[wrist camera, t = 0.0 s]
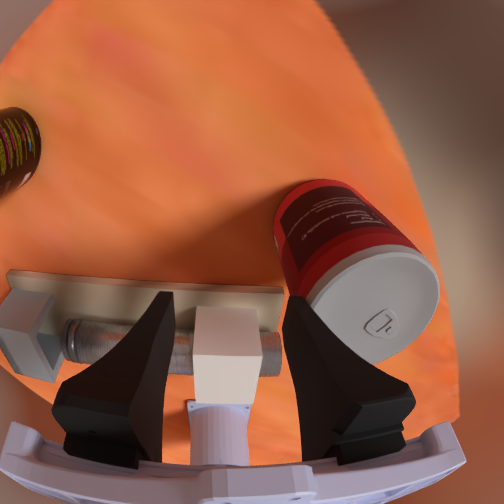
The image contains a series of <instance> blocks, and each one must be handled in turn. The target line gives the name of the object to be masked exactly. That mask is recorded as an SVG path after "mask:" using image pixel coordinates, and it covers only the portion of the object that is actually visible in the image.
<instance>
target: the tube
mask: <svg viewBox="0 0 504 504" xmlns="http://www.w3.org/2000/svg"><path fill="white" fill-rule="evenodd" d="M132 327H133V325H122V324H112V323H103V322H95V321H86V320H83V319H71V318H70V319H67V320H66V322H65V323H64V325H63V328H62V331H61V339H60V344H61V351H62V354H63V356H64V358H65V359H66V360H68V361H72V362H75V363H81V364H83V363H84V364H90V365H92V364H93V363H95V362H96V361H98V360H99V359H100V358H102V357H103V356H104V355H105V354H106V353H107V352H109V351H110V350H111V349H112V348H113V347H114V346H115V345H116V344H117V343H118V342H119V341H120V340H121V339H122V338H123V337H124V336H125V335H126V334H127V333H128V332H129V331H130V330H131V328H132ZM194 331H195V330H187V329H175V339H174V347H173V351H172V356H171V361H170V366H169V371H168V374H177V375H193V376H194V371H193V343H194ZM259 333H260V340H261V347H262V354H263V358H262V363H261V368H260V373H259V377H277V376H279V374H280V370H281V364H282V345H281V339H280V335H279V333H278V332H259Z"/></svg>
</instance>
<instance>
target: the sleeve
mask: <svg viewBox="0 0 504 504" xmlns="http://www.w3.org/2000/svg"><path fill="white" fill-rule="evenodd" d="M262 358H263V354H262V347H261V340H260V333H259V326H258V319H257V311H256V308H236V307H209V306H197V309H196V320H195V331H194V343H193V371H194V386H195V399H196V403H206V404H253V402H254V397H255V392H256V387H257V382H258V378H259V373H260V368H261V363H262Z"/></svg>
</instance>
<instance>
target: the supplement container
mask: <svg viewBox="0 0 504 504" xmlns="http://www.w3.org/2000/svg"><path fill="white" fill-rule="evenodd" d="M40 155H41V137H40V132H39V129H38V126H37V124H36V122H35V121H34V119H33V118H32V116H31V115H30V114H29V113H28V112H26V111H25V110H23V109H21V108H18V107H8V108H4V109H0V200H1V199H2V198H4V197H5V196H7V195H8V194H9V193H11V192H12V191H14V190H15V189H17V188H18V187H20V186H21V185H23V184H24V183H26V182H27V181H28V180H29V179H30V178H31V177H32V175H33V174H34V172H35V170H36V168H37V166H38V163H39V160H40Z"/></svg>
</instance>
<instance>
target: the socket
mask: <svg viewBox="0 0 504 504" xmlns="http://www.w3.org/2000/svg"><path fill="white" fill-rule="evenodd" d="M53 304H54V299H53V296H52V294H50V293H42V292H34V291H27V290H20V289H12V290H11V292H10V293H9V294H8V296H7V297H6V298H5V300H4V301H3V302H2V304H1V305H0V348H1V350H2V352H3V354H4V355H5V357H6V359H7V360H8V362H9V364H10V365H11V367H12V368H13V370H14V372H15V373H18V374H21V375H25V376H28V377H32V378H35V379H39V380H43V381H47V382H51V383H54V382H55V380H56V377H57V375H58V372H59V370H60V367H61V365H62V362H63V360H64V356H63V354H62V351H61V344H60V339H61V336H55V335H49V334H44V333H39V332H38V330H39V328H40V326H41V324H42V323H43V321H44V319H45V317H46V316H47V314H48V312H49V310H50V309H51V307H52V305H53Z"/></svg>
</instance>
